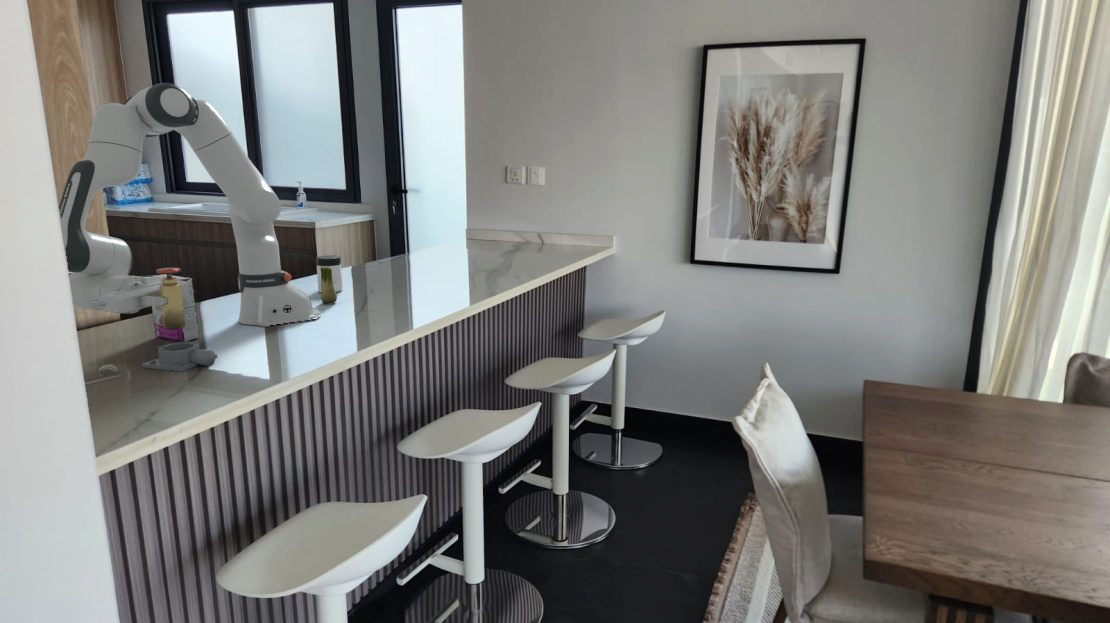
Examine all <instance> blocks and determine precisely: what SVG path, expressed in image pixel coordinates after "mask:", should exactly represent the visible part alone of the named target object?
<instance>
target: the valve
mask: <svg viewBox="0 0 1110 623" xmlns="http://www.w3.org/2000/svg"><path fill="white" fill-rule="evenodd" d="M155 271H156V274H158V275H166V276H167V277H165V278H162V280H163V284H161V285H159V289H160V296H163V297H167V304H165V305H162V314H163V322H164V329H169V330H172V329H180V328H184V327H186V323H185V315H184V306H183V297H182V288H181V284H180V283H177V280H176V277H172V276H173V275H172V274H177V273H181V268H180V267H161V268H157V269H156V270H155Z"/></svg>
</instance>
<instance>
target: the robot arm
mask: <svg viewBox="0 0 1110 623" xmlns="http://www.w3.org/2000/svg"><path fill="white" fill-rule="evenodd" d="M172 131H175V132H177V133H179V135H181V136H182V137H183V138H184V139H185V140H186V141H187V143H188V145H189V147H190V148H191V149H192V151H193V152H194V154H195V155H196V157H197V158H198V160H199V161H200V163H201V164H202V167H204V169H205V170H206V172H207V174H209V176H210V178H211V180H213V182H215V184H216V185H217V186H218V187H219V188H220V190H221V191H222V192H223V194H224V195H225V196H226V198H227V199H228V200H227V202H228V209H229V214H230V221H231V226H232V230H233V234H234V236H233V237H234V239H235V244H236V251H237V260H238V269H239V272H238V274H237V275H238V277H237V280H238V290H239V292H240V308H239V310H240V311H239V316H238V321H237V322H238V323H240V324H242V325H249V326H258V327H271V326H270V325H274V326H277V325H276V324H281V325H284V324H283V323H288V324H290V323H289V322H295V323H298V322H297V321H302V322H304V321H303V320H309V319H313V318H316V317H318V316H319V315H320V316H321V312H320V310H319V309H318V308H316V307H313V305H312V302H311V298H310V296H309V295H308V294H307V293H306V292H305V291H303V290H302V289H300V288H298V287H296V286H295V285H293V284H292V283H291V282H290V281H291V280H292V275H291V274H290V273H288V272H287V271H284V270H282V269H281V268H282V267H281V259H280V258H281V256H280V247H279V244H280V243H279V241H278V239H277V238H278V237H277V236H276V231H275V227H274V223H273V222H275V221H276V220H277V219H278V218H279V216H280V215H281V212H282V206H281V205H282V204H281V201H280V199H279V197H278V195H277V194H276V193H275V192H274V190H273V188H272V187H271V185H270V184H269V183H268V182H267V180H266V179H265V178H264V176H263V175H262V173H260V171H259V170H258V168H257V167H256V166H255V165H254V163H253V162H252V160H250V158H249V156H248V155H247V153H246V152H245V150H244V149H243V148H242V146H241V144H240V143H239V141H238V139H237V138H236V136H235V135H234V133H233V132H232V130H231V128H230V127H229V126H228V124H227V123H226V122H225V120H224V118H222V116H221V115H220V114H219V113H218V111H217V110H216V109H215V107H213V106H212V105H211V103H209V102H207V101H206V100H203V99H195V98H194V97H193V96H191V95H190V94H189V93H188V91H186V90H185V89H183V88H182V87H180V86H179V85H176V84H174V83H171V82H162V83H157V84H153V85H151V86H149V87H145V88H144V89H141V90H140V91H138V92H137V93H136V94H135V95H133V96H131V97H129V98H128V99H126V101H125V102H124V103H117V102H110V103H105V104H102V105H101V106H99V108H98V109H97V110H96V113H95V116H94V118H93V121H92V124H91V128H90V134H89V138H88V139H89V140H88V143H87V144H88V147H87V150H86V153H85V156H84V157H83V159H82V160H81V161H77V162H76V163H75V164H74V165H73V166H72V168H71V169H70V171H69V173H68V176H67V179H66V181H65V185H64V188H63V192H62V195H61V198H60V200H59V205H58V208H59V209H60V216H61V223H62V230H63V237H64V244H65V250H66V256H67V262H68V269H69V272H68V273H70V274H69V275H70V282H71V290H72V296H73V304H74V306H73V307H76V308H80V309H84V310H89V311H95V312H96V311H98V312H101V311H102V312H106V313H113V314H129V315H130V314H132V315H133V314H135V313H138V312H139V311H141V310H142V309H146V308H150V307H152V306H154V305H161V306H162V305H165V304H167V297H163V296H160V289H159V285H161V284H163V280H162V278H159V276H157V275H141V276H140V275H138V276H136V275H130V273H131V270H132V266H133V253H132V250H131V248H130V245H129V244H128V243H127V242H126V241H125V240H124V239H121V238H117V237H113V236H109V235H106V234H99V233H95V232H90V231H87V229H86V227H85V225H86V221H87V218H88V214H89V211H90V208H91V204H92V201H93V197H94V196H95V194H96V193H97V192H98V191H100V190H102V189H104V188H105V189H106V188H112V187H120V186H124V185H127V184H129V183H131V182H132V181H134V180H135V179H136V178H137V177H138V176H139V174H140V171H141V167H142V161H143V160H142V159H143V150H144V149H143V148H144V141H145V139H146V138H153V137H157V136H160V135H164V134H168V133H170V132H172ZM177 283H180V284H181V288H182V297H183V300H184V299H187V297H188V296H189V294H190V293H189V285H188V283H187V282H185V281H181V280H177Z"/></svg>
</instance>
